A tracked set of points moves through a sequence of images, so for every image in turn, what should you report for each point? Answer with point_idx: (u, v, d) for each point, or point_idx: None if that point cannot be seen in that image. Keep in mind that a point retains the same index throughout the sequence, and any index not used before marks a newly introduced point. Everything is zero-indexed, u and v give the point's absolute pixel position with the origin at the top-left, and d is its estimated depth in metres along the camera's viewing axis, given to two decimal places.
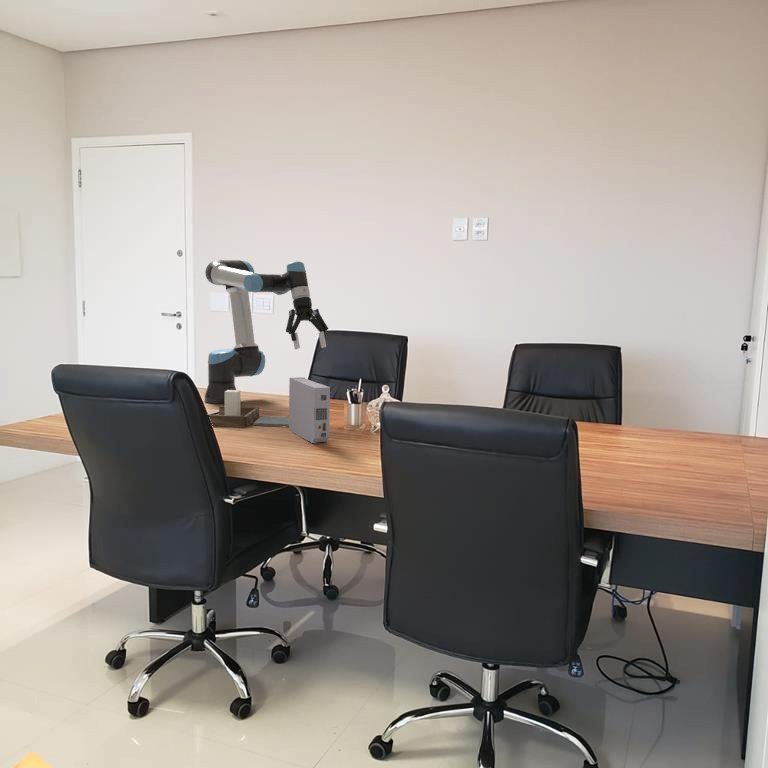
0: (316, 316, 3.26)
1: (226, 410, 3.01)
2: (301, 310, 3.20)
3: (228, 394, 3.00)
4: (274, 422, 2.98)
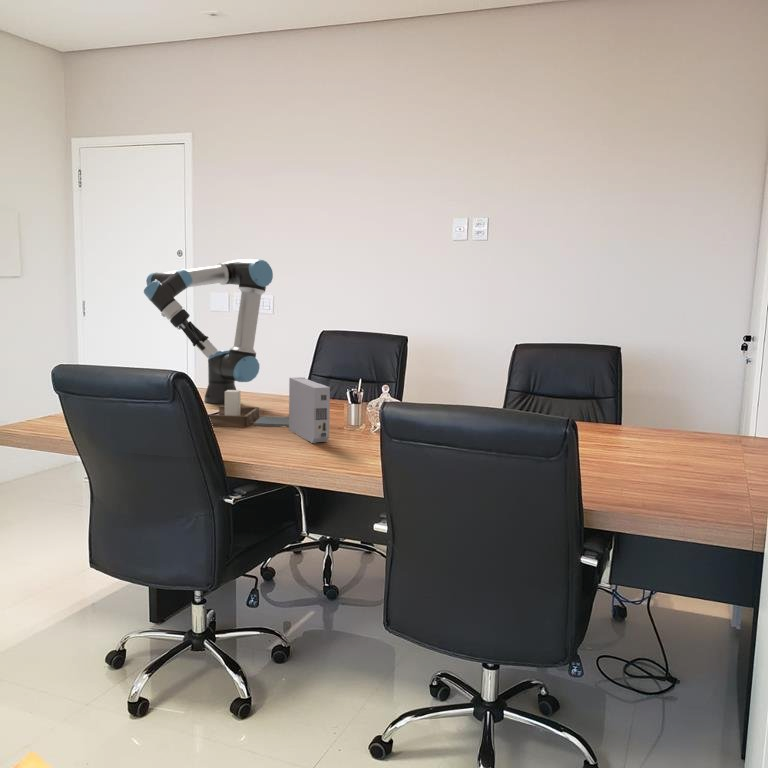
0: None
1: (226, 410, 3.01)
2: None
3: (228, 394, 3.00)
4: (274, 422, 2.98)
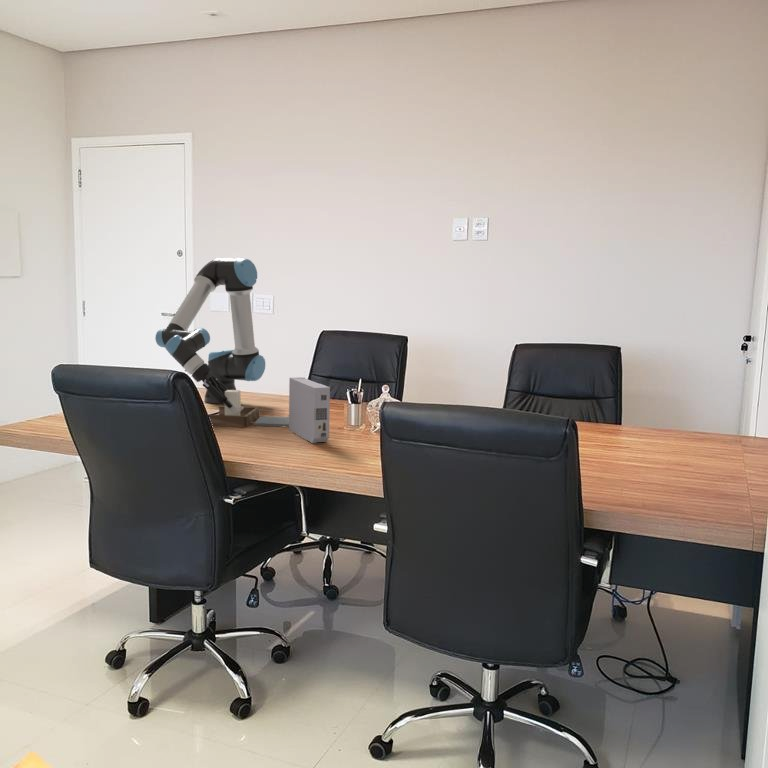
0: None
1: (226, 410, 3.01)
2: None
3: (228, 394, 3.00)
4: (274, 422, 2.98)
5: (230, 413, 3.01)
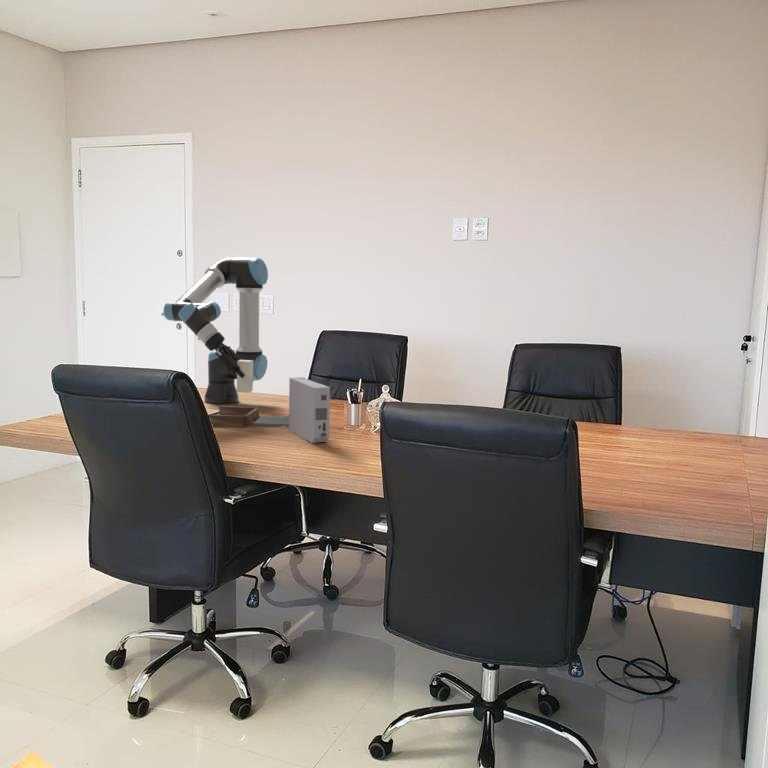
0: None
1: (238, 380, 2.98)
2: None
3: (240, 364, 2.97)
4: (274, 422, 2.98)
5: (242, 383, 2.98)
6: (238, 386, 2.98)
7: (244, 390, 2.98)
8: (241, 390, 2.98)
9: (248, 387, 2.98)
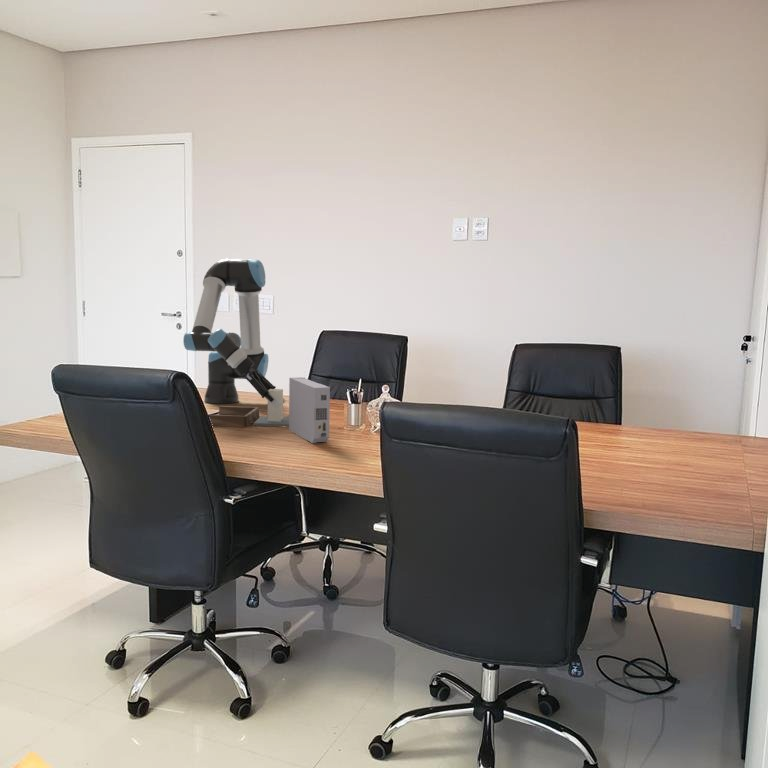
0: None
1: (269, 409, 3.00)
2: None
3: (271, 393, 2.99)
4: (274, 422, 2.98)
5: (273, 412, 3.00)
6: (269, 415, 3.01)
7: (275, 419, 3.01)
8: (272, 419, 3.01)
9: (279, 416, 3.00)
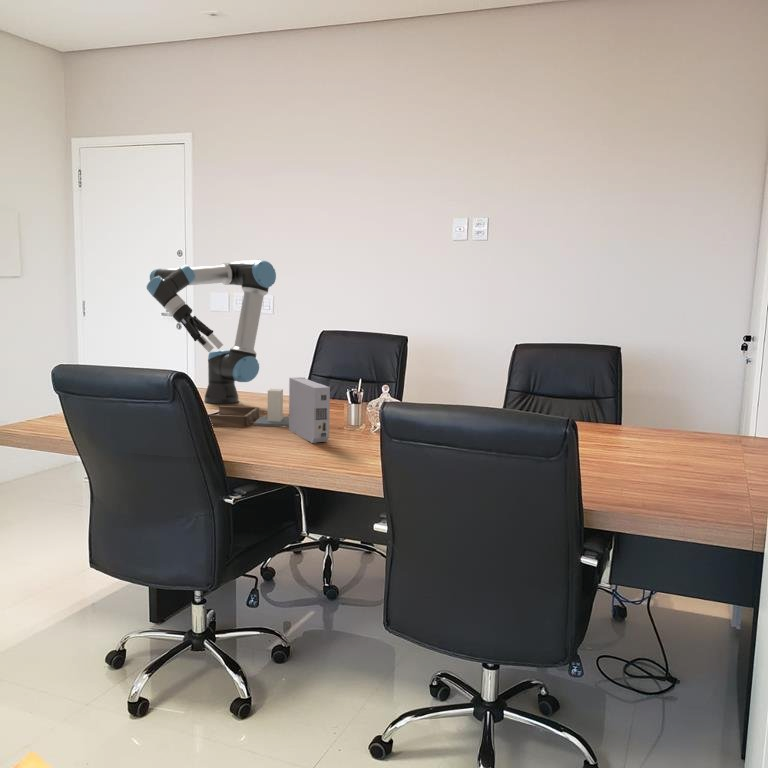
0: None
1: (269, 409, 3.00)
2: None
3: (271, 393, 2.99)
4: (274, 422, 2.98)
5: (273, 412, 3.00)
6: (269, 415, 3.01)
7: (275, 419, 3.01)
8: (272, 419, 3.01)
9: (279, 416, 3.00)
